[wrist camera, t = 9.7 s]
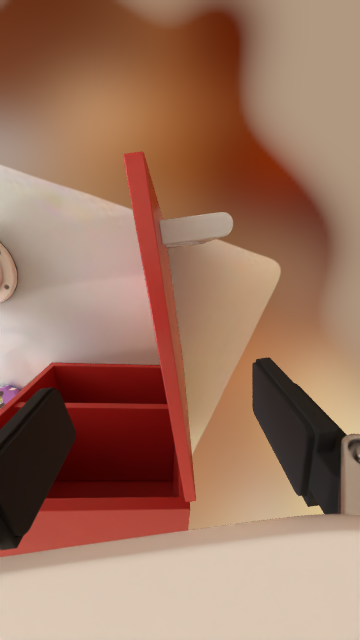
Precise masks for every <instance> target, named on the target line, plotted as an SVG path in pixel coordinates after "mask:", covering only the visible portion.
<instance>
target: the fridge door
mask: <svg viewBox="0 0 360 640" xmlns="http://www.w3.org/2000/svg"><path fill="white" fill-rule="evenodd" d="M123 158H124V163H125V169H126V175H127V181H128V186H129V192H130V197H131V202H132V208H133V214H134V220H135V225H136V231H137V236H138V242H139V247H140V253H141V259H142V264H143V270H144V275H145V281H146V286H147V292H148V297H149V303H150V309H151V314H152V320H153V325H154V331H155V336H156V342H157V348H158V353H159V359H160V364H161V370H162V375H163V381H164V387H165V392H166V398H167V403H168V409H169V414H170V420H171V425H172V431H173V437H174V442H175V448H176V453H177V459H178V464H179V470H180V476H181V481H182V487H183V492H184V498H185V502H191V501H196V495H195V484H194V474H193V463H192V452H191V442H190V431H189V421H188V410H187V400H186V389H185V379H184V368H183V359H182V351H181V344H180V337H179V329H178V322H177V315H176V307H175V300H174V292H173V285H172V278H171V270H170V263H169V255H168V248H172V247H180V246H187V245H195V244H202V243H206V242H209V241H212V240H215V239H218V238H221V237H224V236H226V235H228V234H229V233H230V232H231V230H232V228H233V220H232V217H231V216H230V215H229V214H228V213H226V212H219V213H211V214H204V215H196V216H188V217H181V218H173V219H166V220H163V218H162V215H161V211H160V208H159V204H158V201H157V197H156V194H155V191H154V187H153V184H152V180H151V176H150V173H149V169H148V166H147V162H146V159H145V156H144V153H143V152H135V153H128V154H124V155H123Z"/></svg>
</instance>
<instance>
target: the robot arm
mask: <svg viewBox="0 0 360 640" xmlns="http://www.w3.org/2000/svg"><path fill="white" fill-rule="evenodd" d="M16 285H17V270H16V267H15V264H14V261H13V260H12V258H11V256H10V254H9V253H8V251H7V250H6V249H5V247H4V246H3V245H2V244H1V243H0V303H2V302H4V301H5V300H7V299H8V298H9V297H10V296H11V295H12V294H13V292H14V291H15V288H16ZM253 411H254V414H255V416H256V418H257V420H258V422H259V424H260V426H261V428H262V429H263V431H264V433H265V435H266V437H267V439H268V441H269V443H270V445H271V447H272V449H273V451H274V453H275V454H276V456H277V458H278V460H279V462H280V464H281V466H282V468H283V470H284V471H285V473H286V475H287V477H288V479H289V481H290V483H291V485H292V487H293V489H294V491H295V492H296V494H297V495H298V496H302V497H303V498H304V500H305V502H306V504H307V506H308V507H310V506H317V505H319V506H320V507H321V509H322V511H323V513H324V514H322V515H305V516H297V517H287V518H279V519H270V520H261V521H252V522H245V523H238V524H230V525H223V526H215V527H208V528H201V529H193V530H186V531H179V532H171V533H164V534H157V535H150V536H143V537H136V538H129V539H122V540H115V541H108V542H101V543H94V544H87V545H80V546H73V547H66V548H59V549H53V550H46V551H39V552H32V553H26V554H19V555H12V556H6V557H0V640H360V434H350V435H346V434H345V433H344V432H343V431H342V430H341V429H340V428H339V426H338V425H337V424H336V423H335V422H334V421H333V420H332V419H331V418H330V417H329V416H328V415H327V414H326V413H325V412H324V411H323V410H322V409H321V408H320V407H319V406H318V405H317V404H316V403H315V402H314V401H313V400H312V399H311V398H310V397H309V396H308V395H307V394H306V393H305V392H304V391H303V390H302V388H301V387H300V386H298V385H297V384H295V383H293V382H292V380H291V379H289V377H288V376H287V375H286V374H285V373H284V372H283V371H282V370H281V369H280V368H279V367H278V366H277V365H276V364H275V363H274V362H273V361H272V360H271V359H270V358H262V359H257V360H256V362H255V363H253ZM75 439H76V430H75V428H74V426H73V423H72V421H71V418H70V416H69V413H68V411H67V408H66V406H65V403H64V401H63V398H62V396H61V394H60V391H59V390H56V389H55V388H54V387H51V388H44V389H39V390H38V391H37V392H36V393H35V394H34V395H33V396H32V397H31V398H30V399H29V400H28V401H27V402H26V403H25V404H24V406H23V407H22V408H21V409H20V410H19V411H18V412H17V413H16V414H15V415H14V416H13V417H12V418H11V419H10V420H9V421H8V422H7V423H6V424H5V425H4V426H3V427H2V428H1V430H0V549H1V550H8V549H15V548H17V547H18V545H19V543H20V542H21V540H22V538H23V536H24V535H25V534H26V533H27V532H28V531H29V530H30V528H31V526H32V524H33V522H34V520H35V518H36V516H37V514H38V512H39V510H40V508H41V506H42V504H43V502H44V500H45V498H46V496H47V494H48V492H49V490H50V488H51V487H52V485H53V483H54V481H55V479H56V477H57V475H58V473H59V471H60V469H61V467H62V465H63V463H64V461H65V459H66V457H67V455H68V453H69V451H70V449H71V447H72V445H73V443H74V441H75Z"/></svg>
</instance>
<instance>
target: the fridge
mask: <svg viewBox="0 0 360 640" xmlns="http://www.w3.org/2000/svg"><path fill="white" fill-rule="evenodd" d="M51 387H54V388H55V389H56V390H59V391H60V394H61V396H62V398H63V401H64V403H65V406H66V408H67V411H68V413H69V416H70V418H71V421H72V423H73V426H74V428H75V430H76V439H75V441H74V443H73V445H72V447H71V449H70V451H69V453H68V455H67V457H66V459H65V461H64V463H63V465H62V467H61V469H60V471H59V473H58V475H57V477H56V479H55V481H54V483H53V485H52V487H51V488H50V490H49V492H48V494H47V496H46V498H45V500H44V502H43V504H42V506H41V508H40V510H39V512H38V514H37V516H36V518H35V520H34V522H33V524H32V526H31V528H30V530H29V531H28V532H27V533H26V534H25V535H24V536H23V538H22V540H21V542H20V543H19V545H18V547H17V548H15V549H8V550H1V549H0V557H6V556H12V555H19V554H26V553H32V552H39V551H46V550H53V549H59V548H66V547H73V546H80V545H87V544H94V543H101V542H108V541H115V540H122V539H129V538H136V537H143V536H150V535H157V534H164V533H171V532H179V531H186V530H188V524H189V514H190V502H185V498H184V492H183V487H182V481H181V476H180V470H179V464H178V459H177V453H176V448H175V442H174V437H173V431H172V425H171V420H170V414H169V409H168V403H167V398H166V392H165V387H164V381H163V375H162V370H161V365H130V364H86V363H51V364H50V365H49V366H48V367H46V368H45V369H44V370H43V371H42V372H41V373H40V374H39V375H38V376H36V377H35V378H34V379H33V380H32V381H31V382H30V383H29V384H28V385H26V386H25V387H24V388H23V389H22V390H21V391H20V392H19V393H18V394H17V395H15V396H14V397H13V398H12V399H11V400H10V401H9V402H8V403H7V404H5V405H4V406H3V407H2V408H1V409H0V430H1V428H2V427H3V426H4V425H5V424H6V423H7V422H8V421H9V420H10V419H11V418H12V417H13V416H14V415H15V414H16V413H17V412H18V411H19V410H20V409H21V408H22V407H23V406H24V404H25V403H26V402H27V401H28V400H29V399H30V398H31V397H32V396H33V395H34V394H35V393H36V392H37V391H38V390H39V389H44V388H51Z"/></svg>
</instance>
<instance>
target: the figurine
mask: <svg viewBox="0 0 360 640" xmlns="http://www.w3.org/2000/svg"><path fill="white" fill-rule="evenodd" d="M18 393H19V389H18V388H12V387H11V386H10V385H6V386H4V387H2V388H0V401H3V403H2V404H1V405H0V409H1V408H2V407H3V406H4V405H5V404H7V403H8V402H9V401H10V400H11V399H12V398H13V397H14V396H15V395H17V394H18Z"/></svg>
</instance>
